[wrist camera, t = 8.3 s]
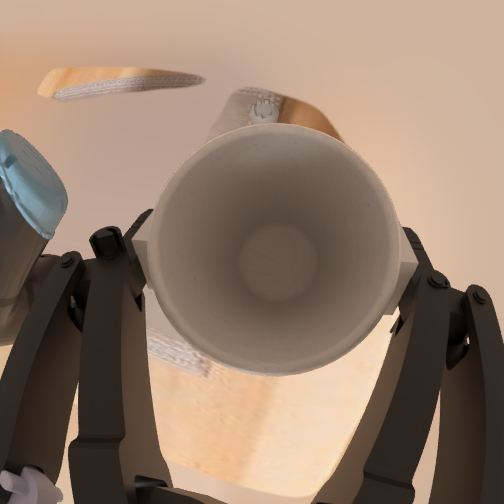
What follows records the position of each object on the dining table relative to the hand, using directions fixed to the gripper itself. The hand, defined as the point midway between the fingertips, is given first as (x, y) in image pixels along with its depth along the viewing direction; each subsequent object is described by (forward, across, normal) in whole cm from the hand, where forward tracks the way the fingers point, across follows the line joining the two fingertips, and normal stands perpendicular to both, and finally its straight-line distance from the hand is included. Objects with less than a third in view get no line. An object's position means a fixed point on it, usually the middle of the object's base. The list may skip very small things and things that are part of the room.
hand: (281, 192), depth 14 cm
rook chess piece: (+22, -3, -4) cm, 23 cm away
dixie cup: (+1, 0, -6) cm, 6 cm away
